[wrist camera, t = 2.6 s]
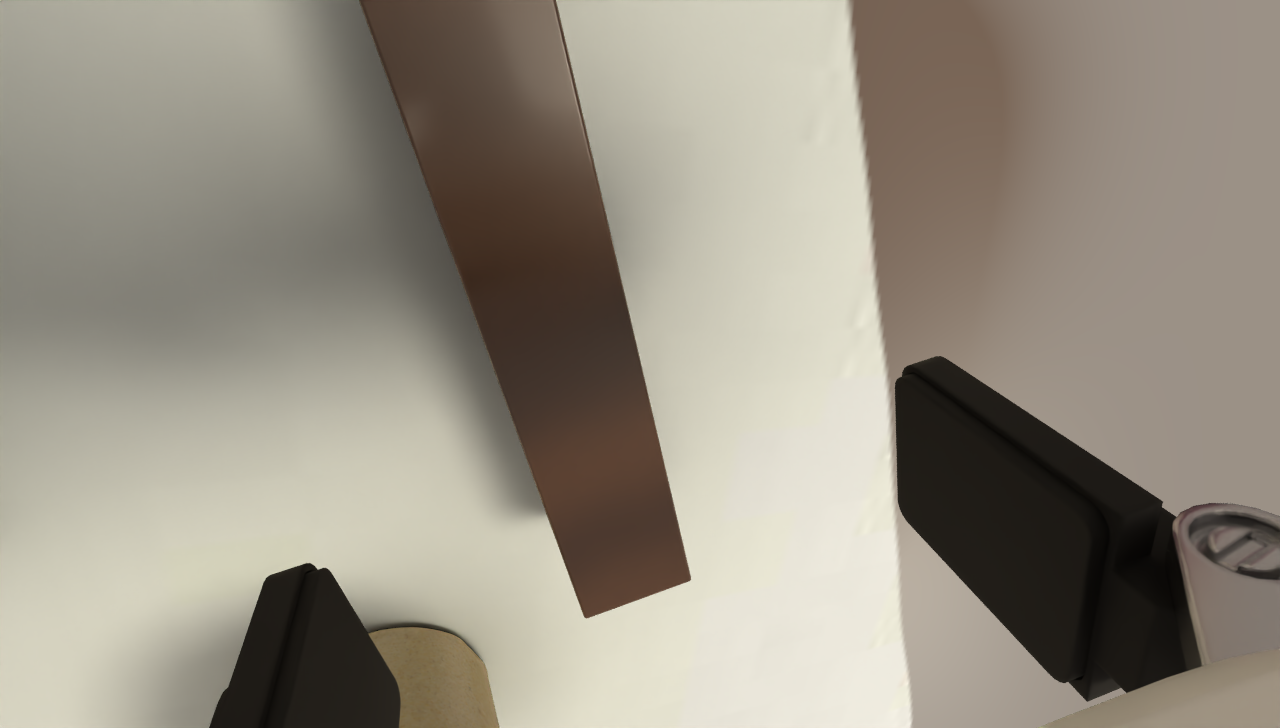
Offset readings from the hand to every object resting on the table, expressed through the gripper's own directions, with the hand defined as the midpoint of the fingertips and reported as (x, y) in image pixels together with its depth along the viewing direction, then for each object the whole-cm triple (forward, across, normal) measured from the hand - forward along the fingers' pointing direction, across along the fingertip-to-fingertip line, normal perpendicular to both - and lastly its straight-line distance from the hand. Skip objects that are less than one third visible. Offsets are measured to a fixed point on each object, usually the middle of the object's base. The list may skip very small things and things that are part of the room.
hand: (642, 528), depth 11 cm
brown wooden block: (+10, 0, -1) cm, 10 cm away
